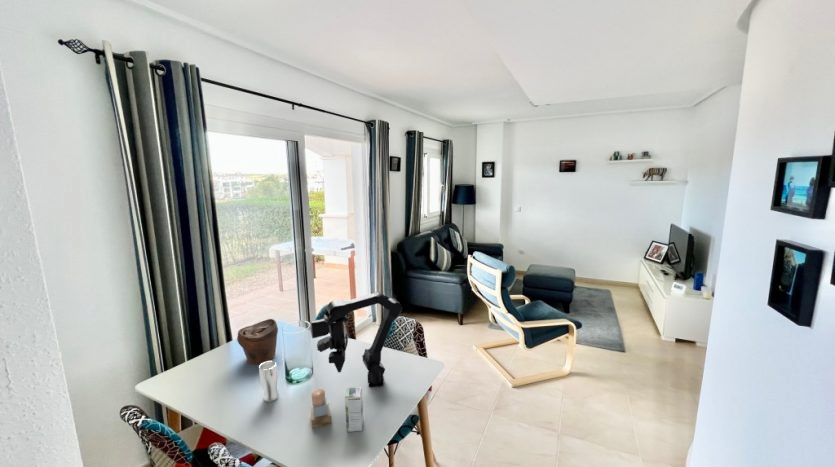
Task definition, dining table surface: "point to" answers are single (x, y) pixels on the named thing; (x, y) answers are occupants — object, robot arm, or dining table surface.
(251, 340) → the brown plant pot
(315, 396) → the tan rounded tapered piece
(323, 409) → the slate block
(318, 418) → the walnut base block
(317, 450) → the dining table surface
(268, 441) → the dining table surface
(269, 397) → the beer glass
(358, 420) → the syrup box
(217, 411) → the dining table surface
